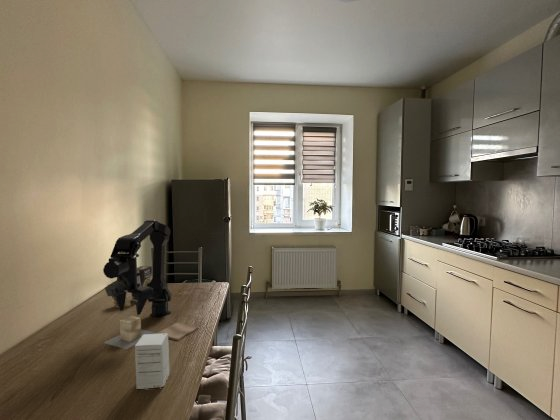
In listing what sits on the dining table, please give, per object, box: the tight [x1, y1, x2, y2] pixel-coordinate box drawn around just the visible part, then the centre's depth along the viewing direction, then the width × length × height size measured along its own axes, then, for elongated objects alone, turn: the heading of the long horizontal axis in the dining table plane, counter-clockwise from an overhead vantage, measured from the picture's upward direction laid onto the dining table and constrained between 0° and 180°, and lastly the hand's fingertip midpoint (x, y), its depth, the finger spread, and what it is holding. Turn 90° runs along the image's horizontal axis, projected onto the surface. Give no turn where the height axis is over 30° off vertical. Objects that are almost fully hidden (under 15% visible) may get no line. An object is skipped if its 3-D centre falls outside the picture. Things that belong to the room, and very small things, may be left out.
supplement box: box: [134, 333, 171, 390], centre depth 91 cm, size 7×7×13 cm
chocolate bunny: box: [111, 296, 132, 309], centre depth 154 cm, size 6×8×10 cm
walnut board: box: [155, 322, 199, 341], centre depth 125 cm, size 11×11×1 cm
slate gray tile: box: [102, 328, 157, 350], centre depth 120 cm, size 14×12×1 cm
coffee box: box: [130, 265, 153, 302], centre depth 165 cm, size 9×6×16 cm
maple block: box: [119, 315, 142, 342], centre depth 120 cm, size 5×5×7 cm
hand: (130, 312), depth 120 cm, fingers open, 9 cm apart
